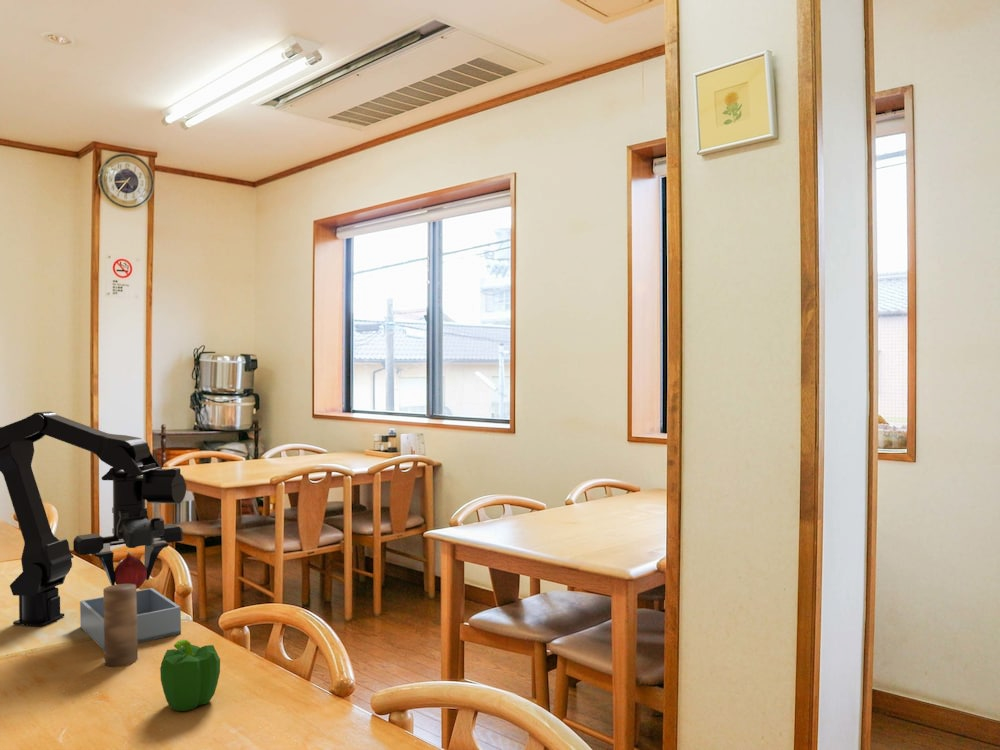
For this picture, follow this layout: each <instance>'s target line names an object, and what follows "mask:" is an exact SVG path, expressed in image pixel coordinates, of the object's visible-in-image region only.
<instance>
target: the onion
mask: <svg viewBox="0 0 1000 750" xmlns="http://www.w3.org/2000/svg"><path fill="white" fill-rule="evenodd" d="M114 574H115V585H117V584H135V585H136V590H138V589H139V588H140V587H141V586H142V585H143V584H144V582H145V581H146V576H147V570H146V567H145V566H144V562H142V561H141V560H140V558H138V557H136V556H134V554H133V553H132V552H129V551H128V552H127V553H126V557H125V558H124V559H122V560H121V561H120V562H119V563H118V565H116V567H115V568H114Z"/></svg>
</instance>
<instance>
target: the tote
mask: <svg viewBox="0 0 1000 750" xmlns="http://www.w3.org/2000/svg"><path fill="white" fill-rule="evenodd" d="M136 601H137V644H141V643H145V642H149V641H154V640H159V639H164V638H167V637H172V636H173V637H174V636H177V635H182V617H181V616H182V614H181V613H182V612H181V606H180V605H178V604H177V603H175V602H173V601H172V600H171V599H169V598H168V597H166V596H165V595H163V593H160V592H159V591H157V590H156V589H154V588H153V587H151V588H143V589H139V590H138V589H137V590H136ZM79 605H80V607H79V608H80V609H79V612H80V613H79V614H80V615H79V616H80V621H79V623H80V628H81V629H82V630H83V631H84V632H85V633H86V634H87V635H88V636H89V637H90V638H91V639H92V640H93V641H94V642H95V643H96V644H97V645H98V646H99V647H100V648H101V650H103V651H104V652H105V642H104V596H99V597H95V598H90V599H84V600H80V601H79Z"/></svg>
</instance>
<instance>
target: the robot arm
mask: <svg viewBox="0 0 1000 750" xmlns="http://www.w3.org/2000/svg"><path fill="white" fill-rule="evenodd" d="M45 436H48V437H50V438H53V439H56V440H58V441H61V442H63V443H67V444H69V445H72V446H73V447H74V446H75V447H77V448H80V449H83V450H85V451H88V452H90V453H92V454H94V455H95V456H97V458H98V459H99V460H100V461H101V462H103V463H104V464H106V465H108V466H110V468H109V470H108V471H107V472H106V473H105V474H104V475H103V476H101V480H102V481H112V504H113V505H112V507H111V511H112V512H111V513H112V516H113V517H112V523H113V524H112V526H113V527H112V530H111V531H112V532H111V533H112V535H108V536H101V535H100V534H98V533H97V532H96V533H88V534H81V535H79V534H78V535H76V537H75V538H74V539H73V541H72V542H73V543H72V545H73V547H72V549H73V551H74V552H75V553H77V555H79V556H87V555H93V556H94V557H95V558H98V560H99V561H100V562H101V564H102V566H103V569H104V571H105V574H106V576H107V579H108V580H109V583H110V586H112V585H116V583H115V574H114V571H115V566H114V553H115V552H114V551H112V550H111V547H113V546H120V545H125V546H126V548H129V549H136V548H137V547H143V546H144V562H143V564H144V566H145V567H146V570H147V576H146V579H145V581H149V579H150V577H151V574H152V572H153V568H154V565H155V563H156V560H157V558H158V556H159V554H160V553H161V551H162V550H164V549H165V548H168V547H169V544H170V543H177V542H183V540H184V531H183V528H182V527H181V526H179V525H177V524H174V523H165V520H164V518H163V517H154V518H153V517H152V518H151V519H150V518H149V516H148V508H146V502H147V503H149V504H180V503H182V502H183V501H184V499H185V496H186V494H187V493H186V492H187V482H186V479H185V477H184V476H183V474H181V468H180V467H173V468H172V467H171V468H163V467H162V466H161V464H160V463H159V461H157V459H156V458H155V456H154V455H153V453H152V452H151V451H150V450H151V449H150V447H149V443H148V441H146V440H145V439H144V438H142V437H137V436H133V435H132V436H130V435H127V434H125V435H124V434H115V433H114V434H113V433H108V432H106V431H102V430H99V429H96V428H94V427H91V426H89V425H86V424H83V423H81V422H77V421H75V420H72V419H69V418H67V417H64V416H61V415H59V414H58V413H56V412H54V411H41V412H40V411H39V412H33V413H32V414H31V415H28V416H26V417H25V418H23V419H20V420H18V421H15V422H12V423H9V424H6V425H4V426H0V472H1V474H2V475H3V479H4V482H5V485H6V488H7V492H8V494H9V497H10V501H11V504H12V507H13V511H14V513H15V517H16V520H17V523H18V527H19V529H20V532H21V536H22V539H23V542H24V543H23V549H22V553H21V558H20V560H21V569H22V572H21V573H20V574H19V575H17V577H16V578H15V579H14V581H12V583H10V584H9V587H10V590H11V594H12V596H18V615H19V617H18V619H17V620H14V621H13V622H12V625H13V624H14V626H15V625H16V626H32V627H33V626H35V627H42V626H44V625H48V624H49V623H52V622H55V621H56V620H58V619H61V618H63V617H65V613H63V612H62V613H61V596H60V595H59V587H58V586H60V585H63V584H64V582H65V579H66V576H67V575H68V574H69V573H70V571H71V568H73V560H72V559H73V558H74V557H75V556H74V555H73V554H72V553H71V550H70V549H71V548H70V545H69V544H70V543H69V541H68V540H67V538H64V539H61V540H59V539H58V537H56V536H55V535H54V533H53V532H52V531H53V530H52V528H51V525H50V522H49V519H48V516H47V515H48V514H47V513H46V509H45V505H44V503H43V500H42V496H41V494H40V491H39V487H38V483H37V481H36V478H35V475H34V471H33V468H32V463H33V460H34V459H33V458H34V454H35V446H34V443H35V442H37V441H39V440H41V439H43V438H44V437H45Z"/></svg>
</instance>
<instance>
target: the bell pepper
mask: <svg viewBox="0 0 1000 750" xmlns="http://www.w3.org/2000/svg"><path fill="white" fill-rule="evenodd" d="M173 646H174V648H175V649H174V648H173V649H166V651H165V653H164V655H163V658H162V661H161V663H160V668H159V669H160V671H159V672H160V683H161V687H162V690H163V693H164V697H165V700H166V702H167V705H168V706H169V708H170V709H171V710H174V711H176V712H186V711H187V712H188V711H189V710H193V709H195V708H197V706H200V705H201V706H202V705H207V704H209V702H210V701H211V699H213V697H214V695H215V693H216V689H217V686H218V682H219V678H220V674H221V658H220V655H218V651H217V649H216V648H215V646H214V644H210V645H204V646H202V647H200V646H199V645H195V644H191V642H190V640H187V639H180V640H178V641H176V643H174V645H173Z"/></svg>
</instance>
